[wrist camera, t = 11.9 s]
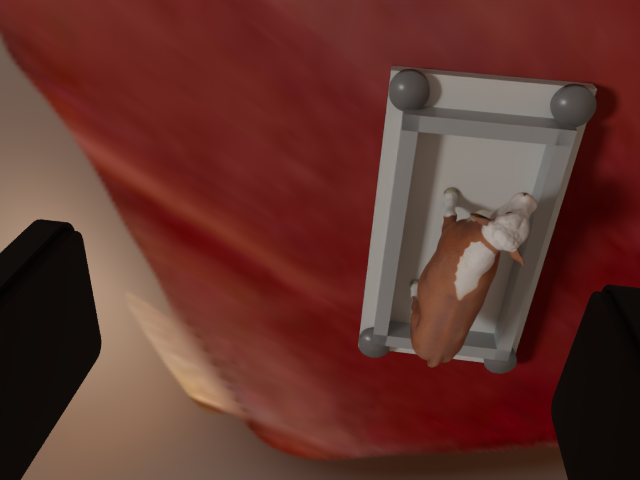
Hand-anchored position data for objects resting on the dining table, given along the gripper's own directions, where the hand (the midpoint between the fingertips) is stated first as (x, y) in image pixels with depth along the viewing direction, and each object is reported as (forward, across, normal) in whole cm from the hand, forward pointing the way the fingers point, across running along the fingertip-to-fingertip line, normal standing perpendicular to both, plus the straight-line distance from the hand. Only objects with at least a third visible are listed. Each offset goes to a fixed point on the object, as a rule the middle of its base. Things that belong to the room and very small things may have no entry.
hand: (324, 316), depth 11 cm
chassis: (+28, -7, +14) cm, 32 cm away
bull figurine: (+28, -7, +14) cm, 31 cm away
